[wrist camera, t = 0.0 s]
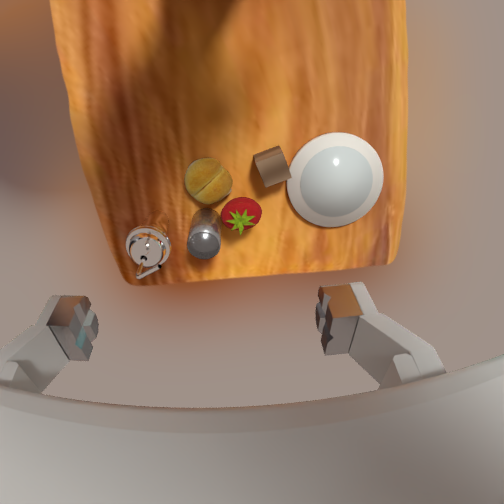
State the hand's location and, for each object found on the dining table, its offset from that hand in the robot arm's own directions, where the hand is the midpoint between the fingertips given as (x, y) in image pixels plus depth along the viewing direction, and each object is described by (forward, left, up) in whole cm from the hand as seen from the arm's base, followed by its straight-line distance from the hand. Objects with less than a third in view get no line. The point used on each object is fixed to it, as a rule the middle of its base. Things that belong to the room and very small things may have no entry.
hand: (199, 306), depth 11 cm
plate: (+15, +21, -50) cm, 56 cm away
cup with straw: (+22, -15, -50) cm, 56 cm away
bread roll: (+13, -7, -50) cm, 52 cm away
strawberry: (+19, +2, -50) cm, 53 cm away
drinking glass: (+23, -5, -50) cm, 55 cm away
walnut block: (+11, +8, -50) cm, 52 cm away
